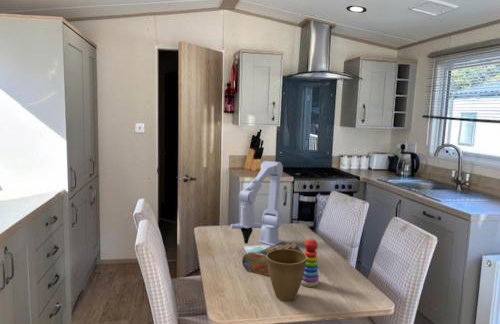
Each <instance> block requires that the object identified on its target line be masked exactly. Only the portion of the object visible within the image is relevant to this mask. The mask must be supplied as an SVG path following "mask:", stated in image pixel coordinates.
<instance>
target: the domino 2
mask: <svg viewBox="0 0 500 324" xmlns="http://www.w3.org/2000/svg"><path fill="white" fill-rule="evenodd" d="M275 247H276V245H275V246H274V245H270V246H268V247H266V248H263V249H264V251H265V253H262V254H265V255H267V253H268V252H270V251H273V250H276V248H275Z"/></svg>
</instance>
